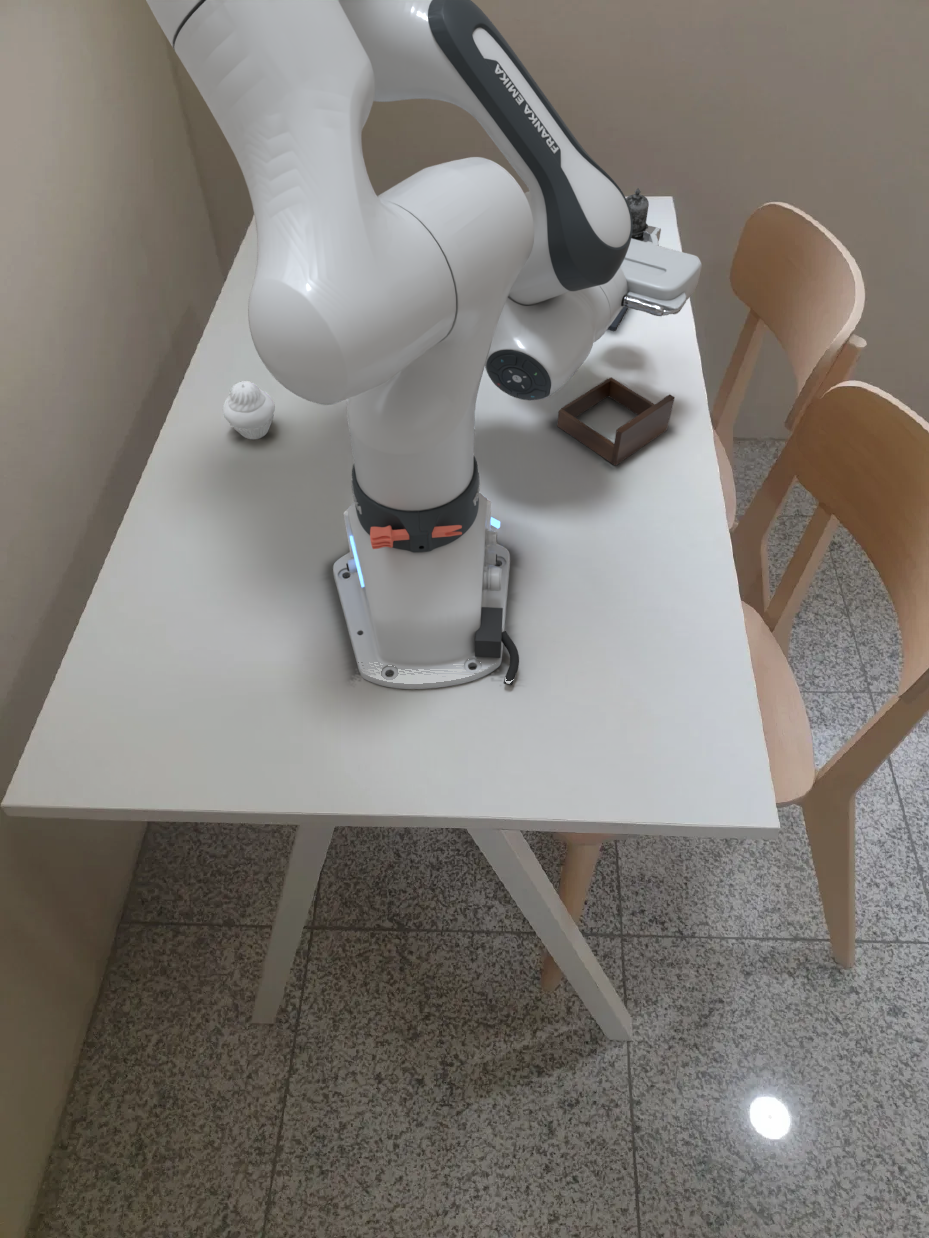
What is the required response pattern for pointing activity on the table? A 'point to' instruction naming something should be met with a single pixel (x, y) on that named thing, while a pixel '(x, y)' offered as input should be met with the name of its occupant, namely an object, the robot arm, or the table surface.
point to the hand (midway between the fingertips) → (634, 227)
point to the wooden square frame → (629, 435)
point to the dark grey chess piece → (638, 214)
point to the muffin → (249, 410)
